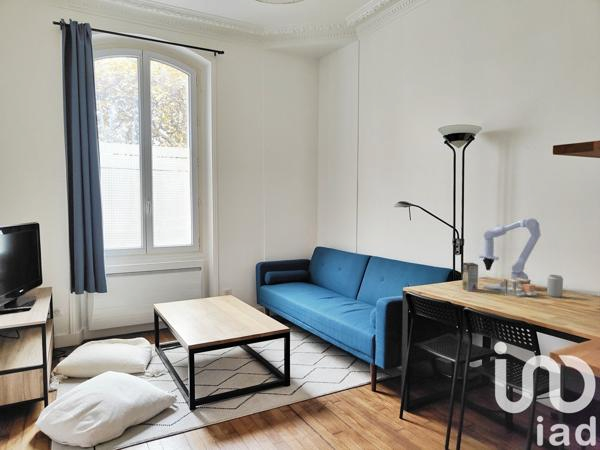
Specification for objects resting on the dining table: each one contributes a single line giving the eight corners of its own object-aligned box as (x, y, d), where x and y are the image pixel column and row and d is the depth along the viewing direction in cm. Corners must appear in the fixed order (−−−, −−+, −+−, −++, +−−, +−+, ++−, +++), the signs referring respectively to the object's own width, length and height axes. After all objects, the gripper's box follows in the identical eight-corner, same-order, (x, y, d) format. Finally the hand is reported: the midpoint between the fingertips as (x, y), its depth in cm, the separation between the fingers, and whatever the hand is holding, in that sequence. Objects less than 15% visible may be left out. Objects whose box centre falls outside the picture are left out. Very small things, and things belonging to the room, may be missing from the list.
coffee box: (461, 288, 263) (462, 262, 262) (472, 288, 263) (472, 262, 262) (467, 291, 254) (467, 264, 253) (478, 291, 254) (478, 264, 253)
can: (561, 295, 243) (562, 274, 242) (563, 298, 236) (564, 276, 235) (546, 294, 246) (547, 273, 245) (547, 297, 239) (548, 275, 239)
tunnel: (519, 289, 254) (520, 277, 253) (530, 291, 247) (530, 279, 247) (503, 291, 249) (504, 279, 249) (513, 293, 242) (514, 281, 242)
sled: (505, 287, 259) (505, 281, 259) (536, 294, 239) (537, 287, 238) (499, 288, 257) (499, 281, 257) (530, 295, 237) (530, 288, 237)
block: (528, 291, 243) (528, 283, 243) (534, 292, 239) (535, 285, 239) (522, 292, 242) (522, 284, 242) (529, 293, 238) (529, 285, 238)
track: (500, 286, 268) (500, 283, 268) (537, 295, 243) (537, 291, 243) (482, 288, 263) (482, 284, 263) (519, 297, 238) (519, 292, 238)
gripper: (475, 248, 281) (475, 268, 281) (492, 250, 267) (492, 272, 268) (483, 247, 283) (483, 268, 284) (501, 250, 270) (500, 271, 270)
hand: (488, 270), depth 276 cm, fingers closed
